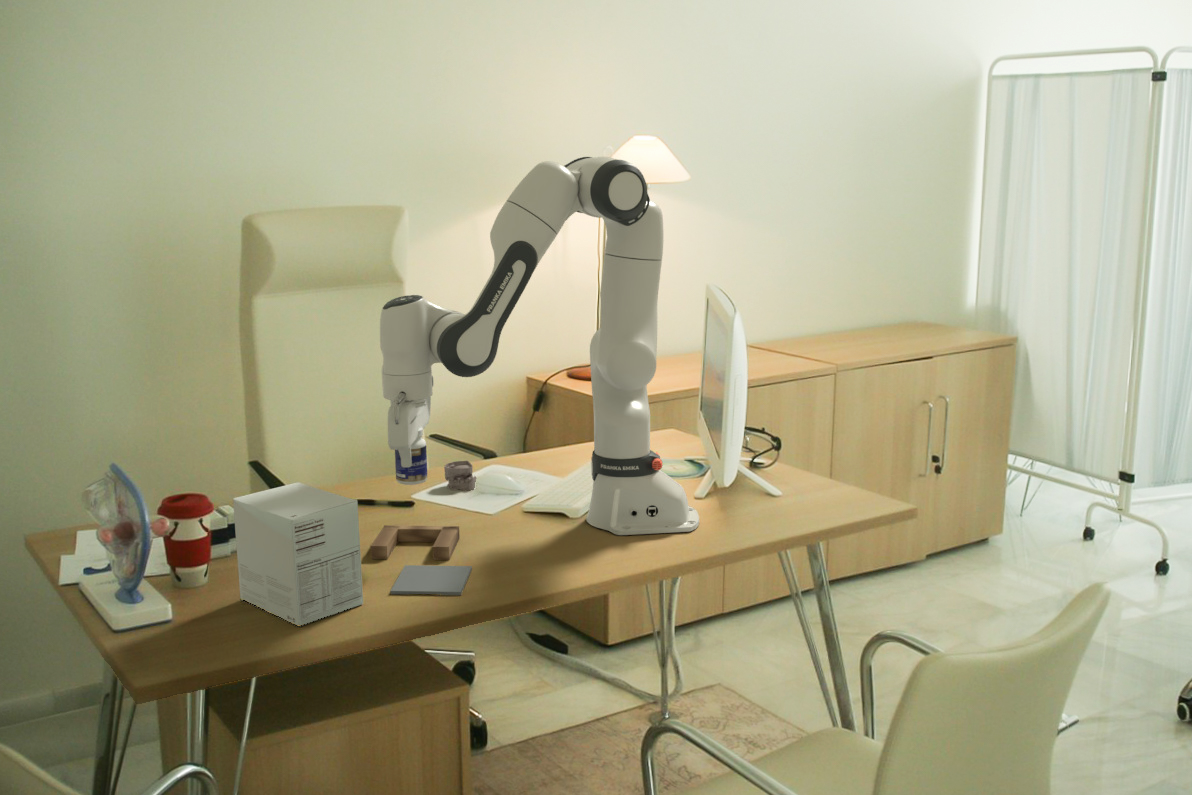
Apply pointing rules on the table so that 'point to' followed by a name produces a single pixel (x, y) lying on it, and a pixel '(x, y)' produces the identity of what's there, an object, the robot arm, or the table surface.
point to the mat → (431, 580)
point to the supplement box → (298, 552)
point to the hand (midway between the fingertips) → (411, 460)
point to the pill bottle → (419, 466)
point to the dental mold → (460, 475)
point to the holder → (416, 539)
